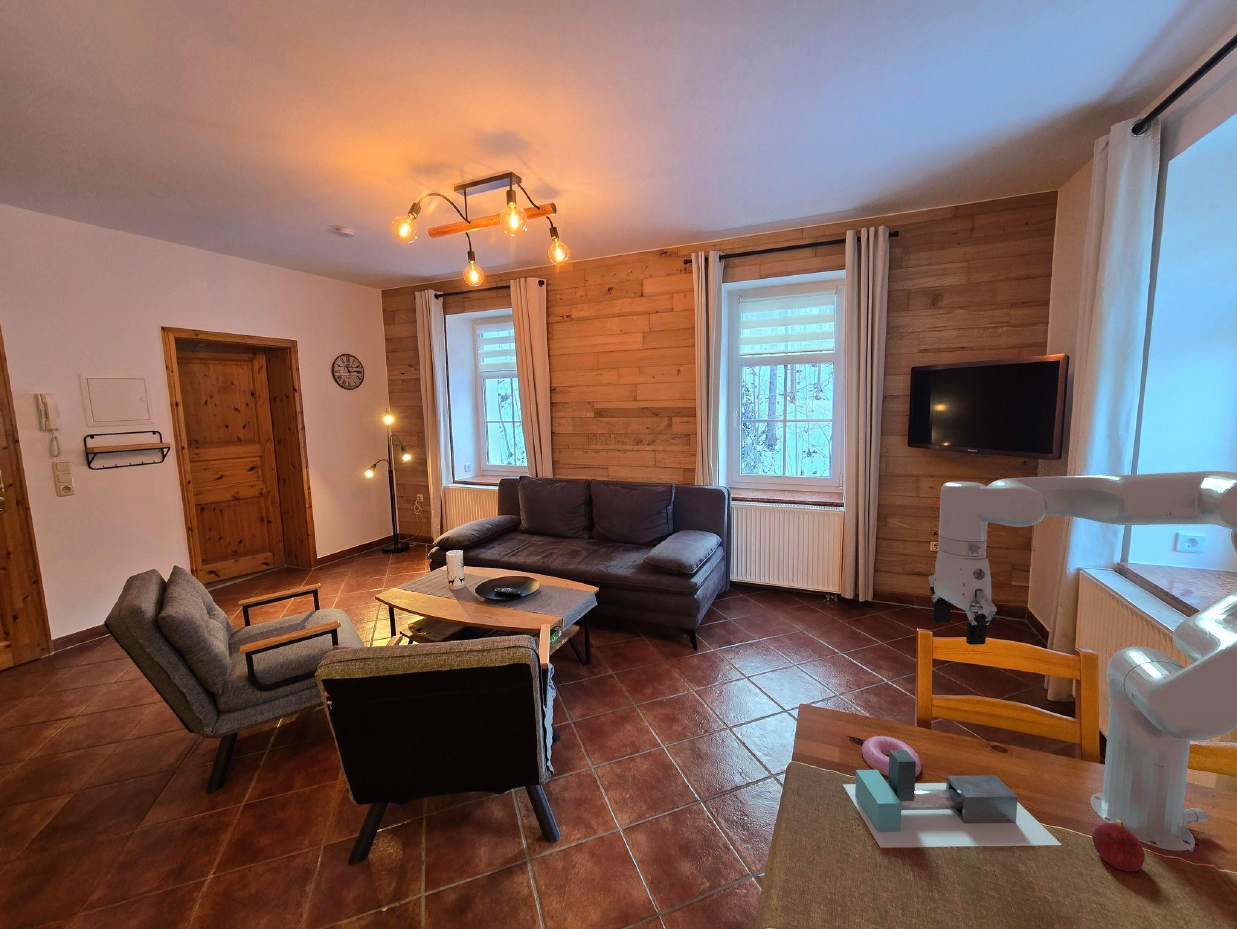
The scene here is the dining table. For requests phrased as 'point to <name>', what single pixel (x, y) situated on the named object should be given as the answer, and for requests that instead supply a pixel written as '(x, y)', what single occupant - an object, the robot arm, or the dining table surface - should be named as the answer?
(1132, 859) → the onion
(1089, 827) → the dining table surface
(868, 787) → the socket
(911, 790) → the silver bolt with handle
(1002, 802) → the sleeve
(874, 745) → the doughnut
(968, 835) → the base board
